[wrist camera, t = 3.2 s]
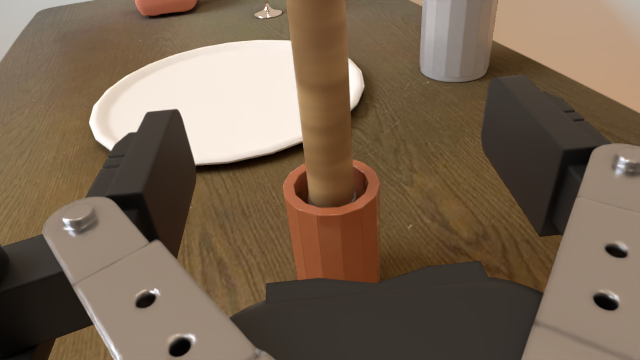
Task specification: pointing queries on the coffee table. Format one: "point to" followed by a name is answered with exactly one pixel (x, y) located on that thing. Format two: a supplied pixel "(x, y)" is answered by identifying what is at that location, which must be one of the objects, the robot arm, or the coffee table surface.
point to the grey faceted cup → (456, 39)
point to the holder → (335, 230)
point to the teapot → (163, 6)
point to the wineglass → (268, 12)
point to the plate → (216, 100)
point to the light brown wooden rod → (323, 98)
